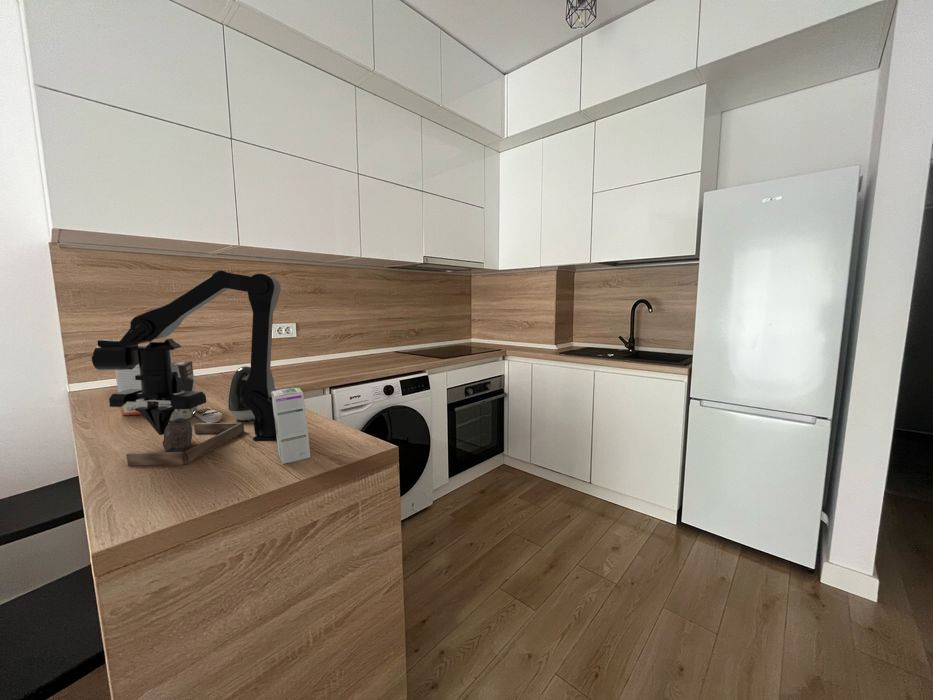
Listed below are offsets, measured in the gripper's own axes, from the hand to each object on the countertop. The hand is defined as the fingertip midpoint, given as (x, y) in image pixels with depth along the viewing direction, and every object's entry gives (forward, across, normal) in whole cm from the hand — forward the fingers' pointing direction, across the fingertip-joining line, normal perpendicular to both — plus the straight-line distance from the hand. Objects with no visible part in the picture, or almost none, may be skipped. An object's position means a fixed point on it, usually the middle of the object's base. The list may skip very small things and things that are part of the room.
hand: (162, 434), depth 88 cm
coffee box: (+4, +15, -24) cm, 29 cm away
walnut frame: (+3, -7, 0) cm, 7 cm away
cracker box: (+5, +29, -29) cm, 42 cm away
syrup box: (+1, -35, +6) cm, 35 cm away
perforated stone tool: (+3, -5, +2) cm, 6 cm away
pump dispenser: (+3, -8, -21) cm, 23 cm away
